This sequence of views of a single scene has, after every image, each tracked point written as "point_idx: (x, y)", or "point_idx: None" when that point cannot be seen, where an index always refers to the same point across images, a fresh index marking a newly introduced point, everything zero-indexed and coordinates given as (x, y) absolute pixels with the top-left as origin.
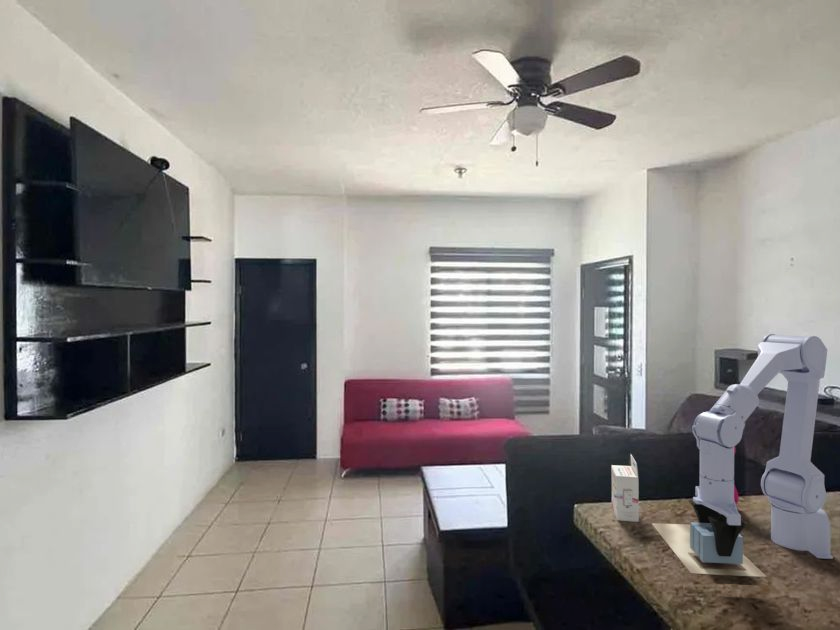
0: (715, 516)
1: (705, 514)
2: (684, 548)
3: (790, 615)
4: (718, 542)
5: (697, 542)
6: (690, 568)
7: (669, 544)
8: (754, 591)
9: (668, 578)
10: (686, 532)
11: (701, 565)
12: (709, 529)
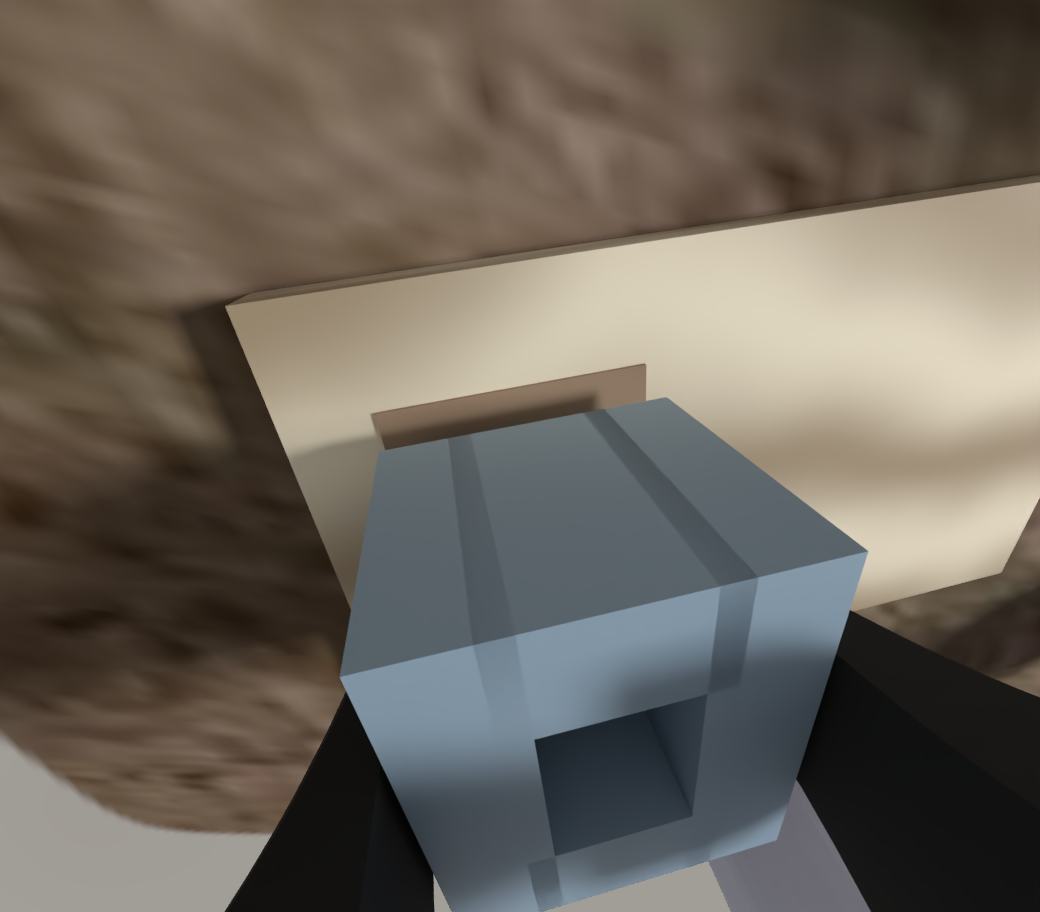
0: (871, 867)
1: (935, 830)
2: (726, 352)
3: (89, 736)
4: (316, 760)
5: (522, 499)
6: (334, 323)
7: (802, 230)
8: (297, 637)
9: (210, 65)
10: (967, 419)
11: (423, 427)
12: (684, 701)
